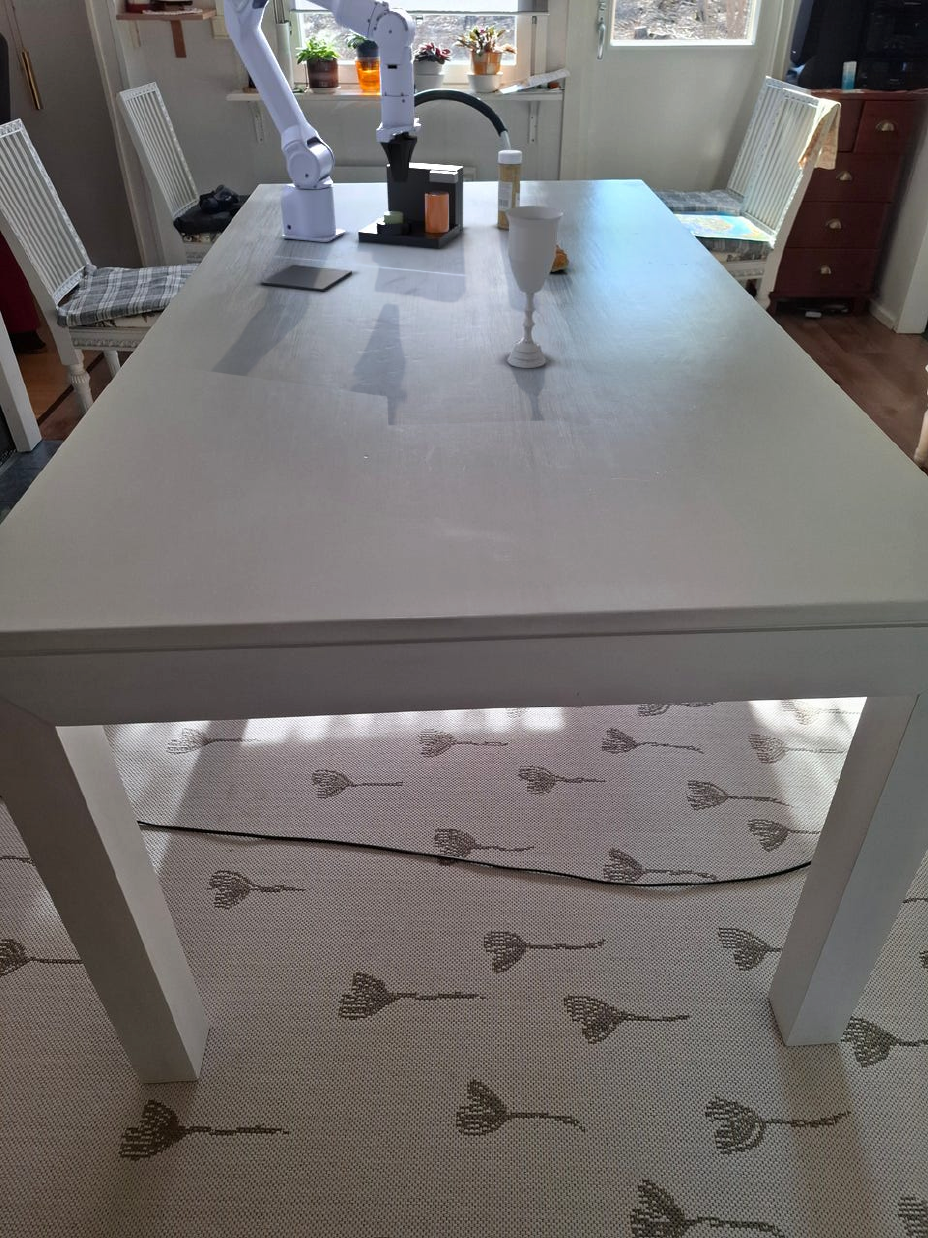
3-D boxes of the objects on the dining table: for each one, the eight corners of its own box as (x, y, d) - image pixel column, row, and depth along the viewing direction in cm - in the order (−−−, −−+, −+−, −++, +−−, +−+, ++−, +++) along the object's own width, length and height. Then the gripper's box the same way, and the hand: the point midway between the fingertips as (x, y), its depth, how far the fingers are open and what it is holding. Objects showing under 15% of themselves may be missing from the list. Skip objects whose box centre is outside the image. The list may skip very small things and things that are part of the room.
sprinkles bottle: (523, 227, 172) (527, 151, 164) (505, 230, 170) (507, 153, 162) (510, 223, 175) (513, 148, 167) (491, 225, 173) (493, 150, 165)
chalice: (497, 351, 117) (501, 206, 106) (547, 350, 117) (556, 205, 106) (504, 371, 111) (509, 220, 100) (556, 370, 111) (567, 219, 100)
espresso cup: (422, 231, 162) (421, 193, 158) (430, 226, 165) (429, 189, 161) (444, 233, 161) (443, 195, 157) (452, 228, 164) (451, 191, 160)
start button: (381, 224, 161) (380, 214, 160) (388, 220, 163) (388, 210, 162) (399, 226, 160) (398, 215, 159) (406, 221, 162) (405, 211, 161)
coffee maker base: (358, 242, 162) (356, 222, 160) (383, 227, 172) (382, 208, 170) (438, 249, 158) (438, 229, 156) (460, 234, 168) (460, 214, 166)
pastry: (578, 270, 148) (580, 247, 146) (546, 276, 145) (547, 252, 143) (546, 257, 154) (547, 235, 152) (514, 263, 152) (515, 240, 149)
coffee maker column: (385, 229, 170) (382, 167, 164) (397, 222, 175) (395, 161, 169) (454, 236, 167) (454, 172, 160) (465, 228, 172) (465, 166, 165)
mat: (261, 284, 140) (261, 282, 140) (293, 267, 149) (293, 264, 149) (323, 291, 138) (322, 288, 137) (351, 273, 146) (351, 270, 146)
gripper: (402, 100, 143) (405, 190, 151) (434, 90, 154) (435, 175, 162) (363, 98, 145) (368, 187, 153) (397, 89, 156) (400, 173, 164)
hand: (400, 181), depth 157 cm, fingers closed
